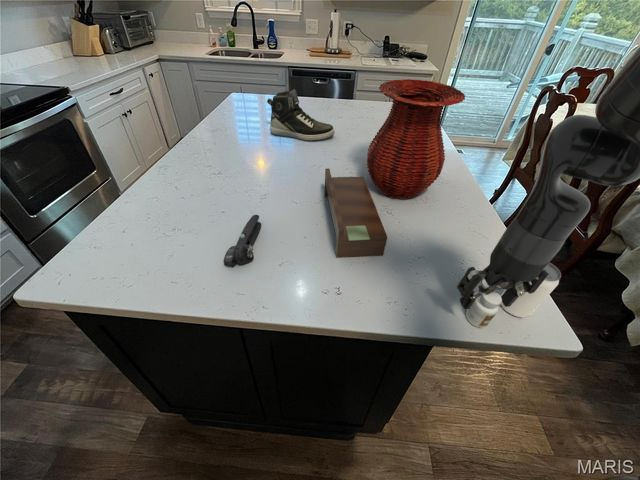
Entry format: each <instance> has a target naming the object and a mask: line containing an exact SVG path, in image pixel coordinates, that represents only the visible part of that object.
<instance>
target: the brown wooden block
mask: <svg viewBox="0 0 640 480" xmlns="http://www.w3.org/2000/svg"><path fill="white" fill-rule="evenodd" d="M324 172H325V173H324V189H323V197H324V198H327V199H328V202H329V208H330V212H331V218H332V222H333V226H334V227H333V228H334V232H335V236H336V242H335V243H336V244H335V252H334V253H335V258H336V259H341V258H343V259H344V258H360V257H361V258H362V257H381V256H384V254H385V250H386V246H387V241H388V234H387V232H386V229H385V228H384V225H383V222H382V219H381V217H380V215H379V212H378V210H377V207H376V205H375V201H374V198H373V196H372V195H371V192H370V189H369V187H368V184H367V181H366V179H365V177H364V176H332V174H331V170H330V168H325V169H324Z"/></svg>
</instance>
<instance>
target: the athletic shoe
mask: <svg viewBox="0 0 640 480" xmlns="http://www.w3.org/2000/svg"><path fill="white" fill-rule="evenodd" d="M266 102H267V104H268V105H270V109H271V114H270V126H269V131H270V134H271V135H273V136H278V137H284V138H290V139H291V138H292V139H296V140H299V141H304V142H321V141H324V140H327V139H331V138H332V137H333V136H334V135H335V127H334V126H333V125H332V124H330V123H326V122H321V121H318V120H316V119H314V118H313V117H311V116H310V114H308V113H306V111H304V110H303V108H302V107H301V106H300V100H299V98H298V93H297V90H296V89H292V90H286V91H281V92H277V93H276V94H275V95H274V96H273V97H272V98H270V97H269V98H267V100H266Z"/></svg>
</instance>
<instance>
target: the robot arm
mask: <svg viewBox="0 0 640 480" xmlns="http://www.w3.org/2000/svg"><path fill="white" fill-rule="evenodd" d="M594 110H595V111H594V112H595V116H593V115H587V114H575V115H571V116H568V117H566V118H564V119H563V120H561V121H560V122H559V123H557V124H556V125H555V126H554V127H553V128H552V130H550V133H548V136H547V138H546V140H545V143H544V146H543V151H542V155H541V158H540V159H541V160H540V165H539V169H538V172H537V177H536V180H535V182H534V185H533V187H532V189H531V191H530V193H529V195H528V197H527V199H526V200H525V201H524V203H523V205H522V207H521V208H520V210H519V211H518V213H517V214H516V216H515V217H514V218H513V219H512V220H511V222H510V223H509V224H508V226H507V227H506V229H505V231H504V232H503V234H502V235H501V237H500V239H499V240H498V242H497V243H496V245H495V246H494V248H493V250H492V251H491V253H490V257H489V264H488V265H487V266H486V267H485V268H483V270H477V269H476V268H475V266H470V267H468V269H467V270H466V271H465V273H464V274H463V276H462V277H461V279H460V280H459V282H458V284H457V285H456V288H457V290H458V292H459V294H460V295H461V297H460V298H459V303H460V304H461V306H462V308H463V309H464V310H465V311H468V309H470V307H471V306H472V304H473V303H474V302H475V300H476V298H478V297H479V296H481V295H483V294H484V295H488V294H490V293H492V292H493V291H495V292H496V291H499V290H505V289H507V290H506V291H505V292H504V294H503V295H502V296H501V295H500V296H501V298H502V302H503V304H504V305H505V306H506V307H509V306H511V305H512V303H514V302H515V300H516V299H517V298H518V297H519V296H523V295H524V294H525V292H528V293H529V294H531V293H534V292H535V291H536V290H537V288H538V287H539V286H540V285H541V283H542V282H543V281H544V280H545V278H546V277H547V276H548V273H547V272H546V270H545V269H544V268H545V267H546V266H547V264H548V263H549V262H550V263H551V261H552V260H553V259H554V258H555V256H556V255H557V254H558V253H559V251H560V250H561V249H562V247H563V246H564V244H565V241H566V240H567V239H568V238H569V236H570V235H571V234H572V233H573V231H574V230H575V229H576V228H577V227H578V226H579V225H580V223H581V222H582V221H583V219H585V217H586V216H587V214H589V211H590V209H591V201H590V199H589V198H588V196H587V195H586V194H584V193H583V192H581V191H580V190H578V189H577V188H575V187H573V186H571V185H569V184H568V183H566V182H564V181H563V180H562V178H561V177H562V176H568V177H571V178H574V179H579V180H584V181H587V182H591V183H594V184H597V185H601V186H606V187H620V186H625V185H628V184H632V183H633V182H636V181H637V180H639V179H640V45H639V46H638V47H637V49H636V50H635V51H634V52H633V53H632V55H631V56H630V57H629V59H628V60H627V61H626V62H625V63H624V65H623V66H622V67H621V69H620V70H619V71H618V73H616V75H615V76H614V77H613V79H611V81H610V82H609V84H608V85H606V87H605V88H604V90H603V91H602V93H601V94H600V96H599V97H598V100H597V101H596V104H595V109H594ZM483 281H485V283H486V285H487V286H488V287H486V286H485V285H484V284H483ZM529 282H531V283H532V285H531V284H530V283H529ZM476 288H477V289H478V290H477V291H475V289H476ZM598 480H640V475H616V476H615V475H614V476H609V477H603V478H599V479H598Z"/></svg>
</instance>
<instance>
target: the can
mask: <svg viewBox="0 0 640 480" xmlns="http://www.w3.org/2000/svg"><path fill="white" fill-rule="evenodd" d="M544 269H545V270H546V272H547V273H548V276H547V277H546V278H545V280H544V281H543V282H542V283H541V285H540V286H539V287H538V288H537V290H536V291H535V292H534V293H531V294H529V293H528V292H525V294H524V295H523V296H519V297H518V298H517V299H516V300H515V302H514V303H512V305H511V306H509V307H506V306H505V305H504V304H503V302H501V303H500V307H501V308H502V309H503V310H504V311H505V312H506V313H508V314H509V315H511V316H513V317H516V318H527V317H530V316H531V315H532V314H533V313H534V311H535V310H537V308H539V306H540V305H541V304H542V303H543V302H544V301H545V300H546V299H547V298H548V297H549V295H551V293H552V292H553V291H554V290H555V289H556V288H557V287H558V286H559V284H560V280H561V278H562V273H561V270H560V269H559V268H558V267H557V266H556V265H554V264H553V263H552V262H551V261H550V262H549V263H548V264H547V266H546V267H545V268H544ZM529 283H530V284H531V285H532V283H531V282H529ZM506 290H507V289H503V292H502V293H501V294H500V296H502V295H503V294H504V292H505V291H506Z"/></svg>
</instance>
